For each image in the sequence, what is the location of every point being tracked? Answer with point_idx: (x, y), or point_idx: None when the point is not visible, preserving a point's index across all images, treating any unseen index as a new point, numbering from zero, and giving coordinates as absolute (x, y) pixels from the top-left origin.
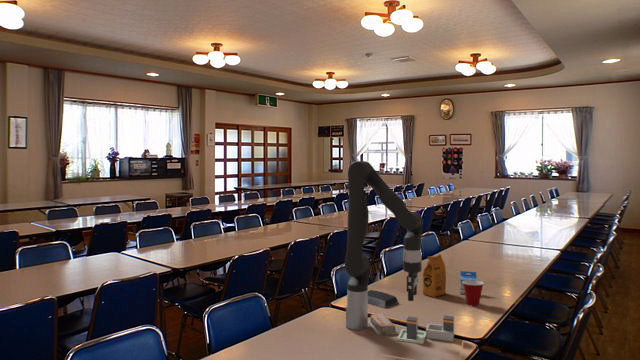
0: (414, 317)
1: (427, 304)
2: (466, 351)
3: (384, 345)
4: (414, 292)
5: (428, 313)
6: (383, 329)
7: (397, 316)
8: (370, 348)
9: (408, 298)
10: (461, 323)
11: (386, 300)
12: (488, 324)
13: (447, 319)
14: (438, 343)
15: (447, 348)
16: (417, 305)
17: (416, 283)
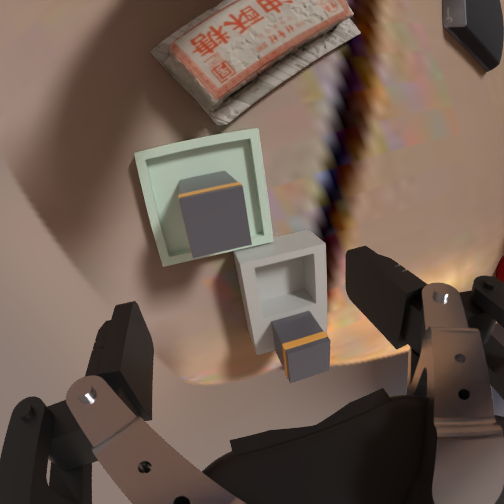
0: (245, 226)
1: (499, 160)
2: (205, 376)
3: (73, 124)
4: (359, 290)
5: (457, 177)
6: (168, 62)
7: (405, 73)
8: (26, 97)
9: (115, 320)
10: None
11: (471, 31)
12: None
13: (287, 366)
14: (216, 299)
15: (192, 334)
16: (490, 132)
17: (407, 391)
